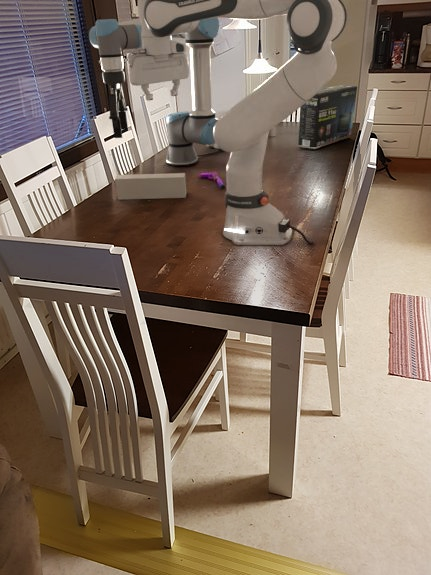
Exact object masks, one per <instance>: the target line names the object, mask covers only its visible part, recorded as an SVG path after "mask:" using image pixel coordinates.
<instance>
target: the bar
mask: <svg viewBox="0 0 431 575" xmlns="http://www.w3.org/2000/svg"><path fill="white" fill-rule="evenodd" d="M114 184H115V192H116V196H117V200H147V199H148V200H150V199H151V200H154V199H155V200H156V199H182V198H183V199H186V198H187V192H188V191H187V180H186V173H185V172H176V173H175V172H174V173H173V172H172V173H171V172H170V173H138V174H137V173H136V174H117V175H116V176H115V178H114Z"/></svg>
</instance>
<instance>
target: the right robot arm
mask: <svg viewBox="0 0 431 575" xmlns="http://www.w3.org/2000/svg"><path fill="white" fill-rule="evenodd" d="M137 12H138V19H139V21H140V24H141V41H142V48H139V49H131V51H130V52H129V53H128V55H127V61H128V62H127V63H128V80H129V83H130V84H131V85H132V86H138V87H139V86H140V88H141V90H142V92H143V93H144V95H145V100H146V101H153V100H154V94H153V93H151V91H150V90H149V88H150V85H151V84H158V83H166V82H171V83H172V89H170V90H169V91H170V96H171V97H177V96H178V92H179V91H178V89H179V87H180V85H181V80H185V79H188V78H189V77H190V62H189V58H188V55H187V53H186V52H187V45H186V43H182V42H179V41H176V40H174V39H173V38H172V37H171V35H177V34H185V33H189V32H191V31H194V30H195V29H196V28H197V27H198V25H199V22H200V20H204V19H208V18H218V19H231V20H232V19H233V20H244V21H245V20H246V21H247V20H248V21H253V20H254V21H255V20H256V21H257V20H264V19H270V18H274V17H277V16H278V17H279V16H285V15H286V27H287V31H288V34H289V36H290V38H291V42H292V46H293V48H294V50H295V52H296V53H295V54H294V55H293V56H292V57H291V58H290V59H289V60H288V61H287V62H286V63H285V64H283V65H282V66H281V67H280V68H278V70H277V71H275V72H274V73H273V74H272V75H271V76H270V77H268V79H266V80H265V81H264V82H263V83H262V84H261V85H259V86H257V88H255V89H254V90H253V91H252V92H250V93H249V94H248V95H246V96H245V97H244V98H242V99H241V100H240V101H239V102H237V103H236V104H234V105H233V106H232V107H231V108H230V109H229V110H227V111H226V112H225V113H223V114H222V115H221V116H220V118H218V121H217V122H216V124H215V126H214V129H213V137H214V140H215V142H216V144H217V145H218V147H219V148H220V149H222V150H221V151H223V152H226V153H230V154H229V158H228V160H227V163H226V167H225V177H226V178H225V179H226V180H225V181H226V182H225V183H226V190H225V194H224V205H225V209H226V210H225V218H224V219H225V220H224V226H223V229H222V235H223V237H225V239H228V240H230V241H232V243H233V244H234V245H236V246H283V245H286V244H288V243H289V242H290V240H291V239H292V237H293V231H295V232H297V233H298V234H300V235H301V237H302V238H303V240H304V242H305V243H306V244H308V245H314V244H315V243H314V241H310V240H308V238H307V237H306V235H305V234H304V233H303V232H302V231H301V230H300V229H298V228H296V227H294V226H292V225H291V219H290V218H285V215H284V213H283V212H282V211H280V210H279V209H278V208H277V207H276V206H275V205H272V204H271V203H270V202H269V194H270V192H269V191H267V192H266V191H265V190H263V175H264V174H263V169H264V161H265V157H266V156H265V155H266V150H267V146H268V139H269V137H268V135H270V132H271V130H272V129H273V128H275V127H276V126H277V125H279V124H280V123H283V121H285V120H286V119H288V117H290V116H291V115H292V114H293V113H294V112H297V110H299V109H301V106H302V105H303V104H305V103H306V102H307V101H309V100H310V99H311V98H312V97H313V96H315V95H316V94H317V93H318V92H319V91H320V90H321V89H323V88H325V86H326V85H327V84H328V83H329V82H330V81H331V80H332V79H333V77H334V76H335V75H336V72H337V68H338V63H337V61H338V60H337V58H336V56H335V55H336V54H334V52H333V51H332V42H334V41H335V40H337V39H338V38H339V37H340V36H341V34H342V33H343V32H344V30H345V28H346V25H347V21H348V11H347V8H346V6H345V4H344V2H343V1H342V0H137ZM219 148H218V149H219ZM220 149H219V150H220Z"/></svg>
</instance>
